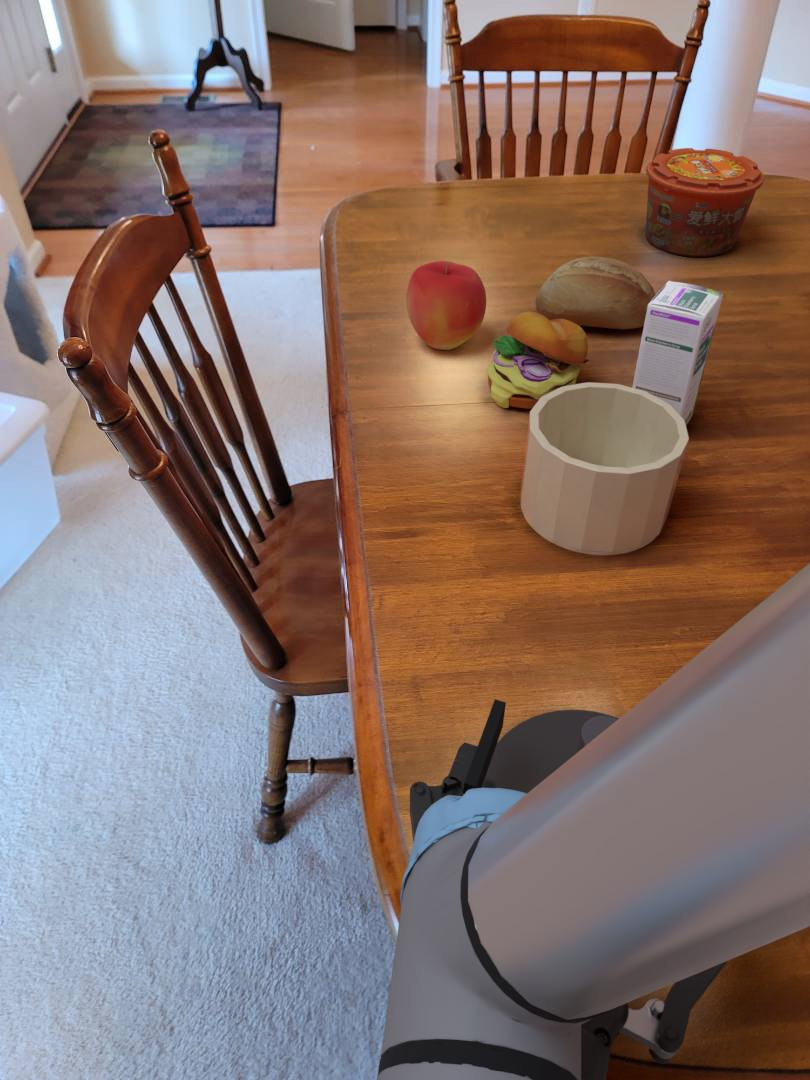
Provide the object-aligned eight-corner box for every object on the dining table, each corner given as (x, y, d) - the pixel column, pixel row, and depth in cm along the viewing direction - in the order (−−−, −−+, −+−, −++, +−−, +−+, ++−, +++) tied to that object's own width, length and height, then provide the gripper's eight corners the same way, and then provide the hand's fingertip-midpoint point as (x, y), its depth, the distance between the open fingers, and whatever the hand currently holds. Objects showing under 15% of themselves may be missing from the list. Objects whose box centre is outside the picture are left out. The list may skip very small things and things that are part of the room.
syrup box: (675, 443, 87) (709, 316, 77) (621, 426, 89) (648, 300, 79) (692, 416, 90) (727, 291, 80) (640, 401, 93) (667, 277, 83)
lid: (742, 823, 56) (781, 751, 50) (595, 968, 49) (620, 904, 43) (579, 685, 64) (596, 610, 58) (434, 793, 57) (437, 720, 52)
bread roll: (654, 347, 101) (668, 285, 96) (531, 336, 103) (537, 275, 98) (652, 310, 108) (665, 250, 103) (536, 300, 110) (542, 241, 105)
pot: (694, 513, 79) (720, 431, 72) (598, 577, 72) (616, 494, 66) (586, 446, 86) (601, 366, 80) (490, 499, 80) (498, 418, 74)
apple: (477, 368, 98) (482, 288, 91) (397, 360, 99) (397, 280, 92) (487, 328, 105) (493, 251, 98) (413, 321, 106) (413, 244, 99)
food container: (613, 228, 127) (625, 154, 120) (699, 212, 132) (716, 140, 124) (677, 271, 116) (695, 193, 109) (768, 251, 121) (791, 175, 113)
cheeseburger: (461, 387, 94) (481, 301, 89) (526, 377, 101) (548, 296, 95) (523, 427, 88) (549, 337, 83) (588, 413, 95) (615, 329, 89)
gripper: (281, 1032, 45) (417, 720, 59) (771, 1247, 38) (789, 837, 53) (265, 980, 39) (418, 653, 54) (827, 1218, 33) (829, 773, 47)
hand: (601, 743), depth 53 cm, fingers open, 13 cm apart
